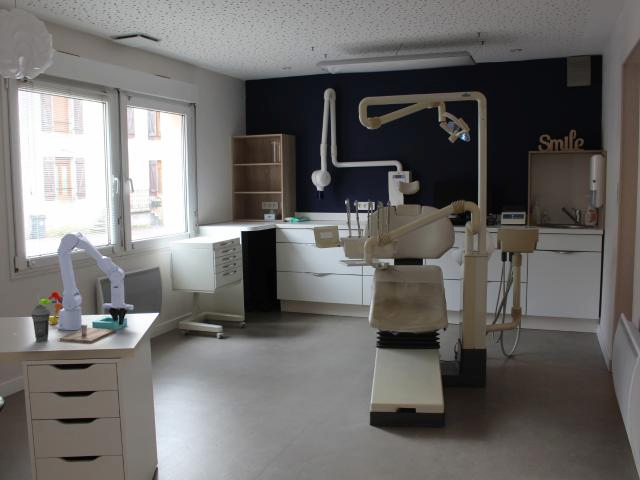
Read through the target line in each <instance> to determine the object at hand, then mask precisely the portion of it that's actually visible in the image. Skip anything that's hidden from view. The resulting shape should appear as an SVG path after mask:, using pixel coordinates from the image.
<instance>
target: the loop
mask: <svg viewBox="0 0 640 480" xmlns="http://www.w3.org/2000/svg"><path fill="white" fill-rule="evenodd" d="M91 323H92V325H91V326H92V327H91V328H101V329H115V330H116V331H117V330H119V329H121V328H124V327H126V326H127V325H128V318H127V317H124V321H123V324H122V325H119V316H118V320H116V321H113V318H112V316H104V317H101V318H98V319H96V320H93V321H92V322H91Z"/></svg>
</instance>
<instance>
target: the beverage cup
mask: <svg viewBox="0 0 640 480" xmlns="http://www.w3.org/2000/svg"><path fill="white" fill-rule="evenodd" d="M40 300H41V299H40V294H39V293H38V294H37V301H38V303H37V305H35V306H34V307H33V309H32V311H31V314H30V315H31V318H32V322H33V323H32V324H33V329H34V330H33V331H34V336H35V338H34V339H35V341H36V343H45V342H47V341H49V326H50V325H49V324H50V321H49V317H51V316H50V315H51V312H50V309H49V307H47V306H46V305H40Z"/></svg>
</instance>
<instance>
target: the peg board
mask: <svg viewBox="0 0 640 480" xmlns="http://www.w3.org/2000/svg"><path fill="white" fill-rule="evenodd" d="M81 327H82V328H81V329H78V330H75V331H74V332H71V333H70V334H66V335H63V336H62V337H60V338H59V342H68V343H80V344H93V343H95V342H97V341H99V340H101V339H104V338H107V337H109V336H110V334H111V335H112V334H114V333H117V330H115V329H101V328H92V327H88V325H87V324H82V325H81ZM108 335H109V336H108Z"/></svg>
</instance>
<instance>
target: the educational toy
mask: <svg viewBox="0 0 640 480" xmlns="http://www.w3.org/2000/svg"><path fill="white" fill-rule="evenodd" d="M52 299H55V300H52ZM39 300H40V305H45V306H46V305H47V304H54V308H55V312H54V315H53V316H50V317H49V323H50V324H51V325H57V324H58V322H59V318H58V314H59V311H60V310H61V309H64V307H63V305H62V301H63V296H62V297H61V296H60V294H59V292H58V291H53V292H52V293H51V296H49V297H47V298H46V299H44V298H42V299H39Z"/></svg>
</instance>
